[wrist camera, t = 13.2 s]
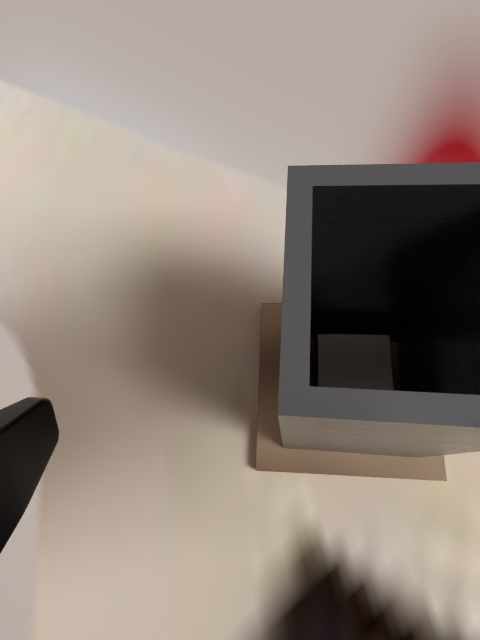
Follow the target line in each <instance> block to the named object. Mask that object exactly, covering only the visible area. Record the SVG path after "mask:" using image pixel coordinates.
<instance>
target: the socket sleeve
mask: <svg viewBox="0 0 480 640" xmlns="http://www.w3.org/2000/svg"><path fill="white" fill-rule="evenodd" d="M318 334H351V335H389V340H390V342H397V352H398V369H399V386H400V391H391V390H372V389H352V388H333V387H313V386H309V383H310V339H317V335H318ZM278 420H279V425H280V431H281V436H282V442H283V447H284V448H288V449H302V450H316V451H330V452H344V453H358V454H372V455H386V456H401V457H415V458H420V457H429V456H438V455H448V454H457V453H467V452H476V451H480V163H434V164H433V163H432V164H373V165H372V164H371V165H311V166H288V180H287V204H286V228H285V252H284V276H283V301H282V325H281V349H280V373H279V397H278Z"/></svg>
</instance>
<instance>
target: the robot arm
mask: <svg viewBox="0 0 480 640" xmlns="http://www.w3.org/2000/svg"><path fill="white" fill-rule="evenodd" d="M58 438H59V429H58V425H57V421H56V417H55V414H54V410H53V406H52V403H51V401H50V400H49V399H47V398H36V397H29V398H25V399H23V400H21V401H19V402H17V403H15V404H12V405H10V406H8V407H6V408H3V409H1V410H0V553H1V552H2V550H3V548H4V546H5V545H6V543H7V541H8V540H9V538H10V536H11V535H12V533H13V531H14V529H15V528H16V526H17V524H18V523H19V521H20V519H21V517H22V515H23V514H24V512H25V510H26V508H27V506H28V504H29V502H30V500H31V497H32V495H33V494H34V491H35V489H36V487H37V485H38V483H39V481H40V479H41V476H42V474H43V472H44V470H45V468H46V466H47V464H48V461H49V459H50V457H51V455H52V453H53V451H54V449H55V447H56V444H57V442H58Z"/></svg>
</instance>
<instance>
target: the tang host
mask: <svg viewBox="0 0 480 640" xmlns="http://www.w3.org/2000/svg"><path fill="white" fill-rule="evenodd" d="M281 325H282V303H262V315H261V342H260V370H259V397H258V424H257V452H256V470H257V471H275V472H293V473H311V474H329V475H347V476H365V477H383V478H401V479H419V480H437V481H447V479H446V471H445V462H444V455H438V456H429V457H420V458H415V457H401V456H386V455H372V454H358V453H344V452H330V451H316V450H302V449H288V448H284V447H283V442H282V436H281V431H280V425H279V420H278V397H279V373H280V349H281ZM309 386H313V387H333V388H352V389H372V390H391V391H400V386H399V369H398V352H397V342H390V340H389V335H351V334H318V335H317V339H310V383H309Z"/></svg>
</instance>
